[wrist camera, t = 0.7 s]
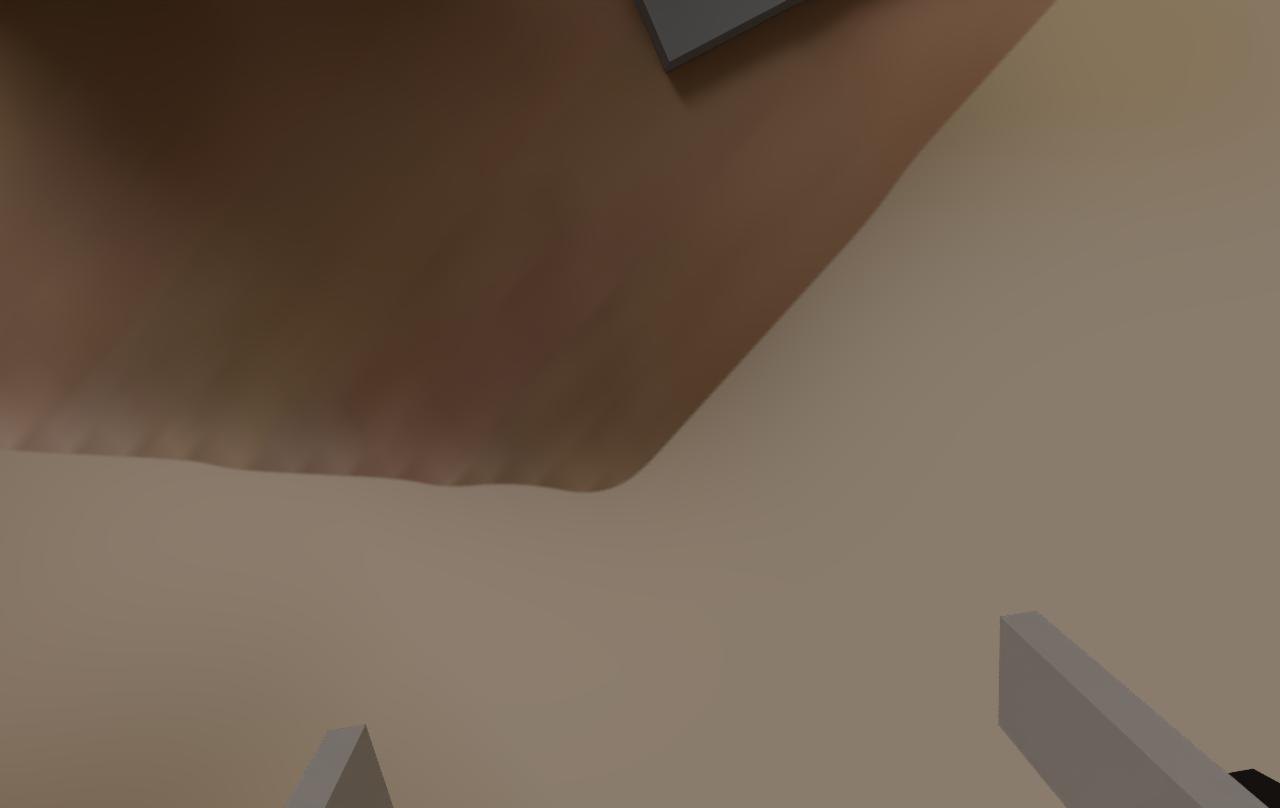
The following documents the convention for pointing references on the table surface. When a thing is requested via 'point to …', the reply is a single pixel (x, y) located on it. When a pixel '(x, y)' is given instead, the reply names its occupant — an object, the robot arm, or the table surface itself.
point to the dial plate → (701, 24)
